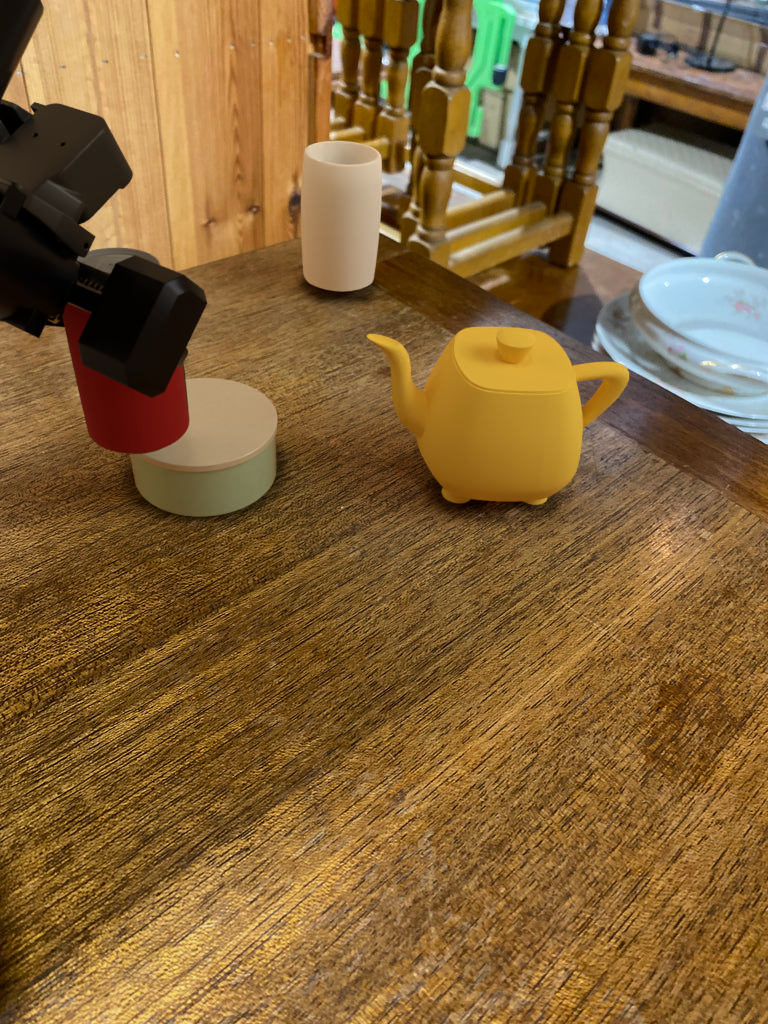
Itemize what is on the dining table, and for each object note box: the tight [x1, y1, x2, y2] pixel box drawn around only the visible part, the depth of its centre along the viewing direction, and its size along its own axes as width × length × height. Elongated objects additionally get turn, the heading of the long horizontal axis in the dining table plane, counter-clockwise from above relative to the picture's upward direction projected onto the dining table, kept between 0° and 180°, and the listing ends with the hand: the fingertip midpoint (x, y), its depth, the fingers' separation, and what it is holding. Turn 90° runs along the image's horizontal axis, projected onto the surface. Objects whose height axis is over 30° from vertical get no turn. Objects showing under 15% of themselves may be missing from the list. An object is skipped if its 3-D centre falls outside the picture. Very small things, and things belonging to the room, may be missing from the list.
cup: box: [300, 140, 383, 292], centre depth 83 cm, size 8×8×14 cm
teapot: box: [366, 326, 630, 506], centre depth 60 cm, size 13×20×12 cm
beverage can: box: [62, 247, 190, 455], centre depth 50 cm, size 7×7×12 cm
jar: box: [129, 377, 279, 518], centre depth 60 cm, size 11×11×5 cm
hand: (143, 340), depth 50 cm, fingers closed on beverage can, 7 cm apart
